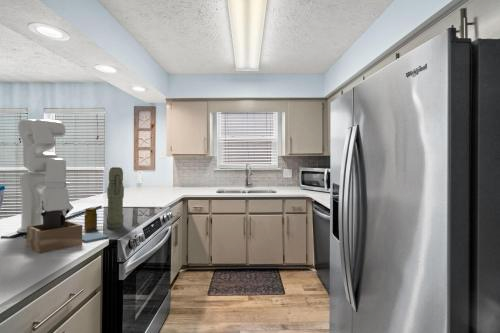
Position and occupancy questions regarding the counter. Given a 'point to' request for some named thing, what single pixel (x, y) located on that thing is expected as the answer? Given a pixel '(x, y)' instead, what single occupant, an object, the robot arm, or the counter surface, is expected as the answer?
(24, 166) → the robot arm
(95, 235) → the mat
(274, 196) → the counter surface
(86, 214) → the condiment
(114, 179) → the thermos
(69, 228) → the crate
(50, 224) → the vinegar
